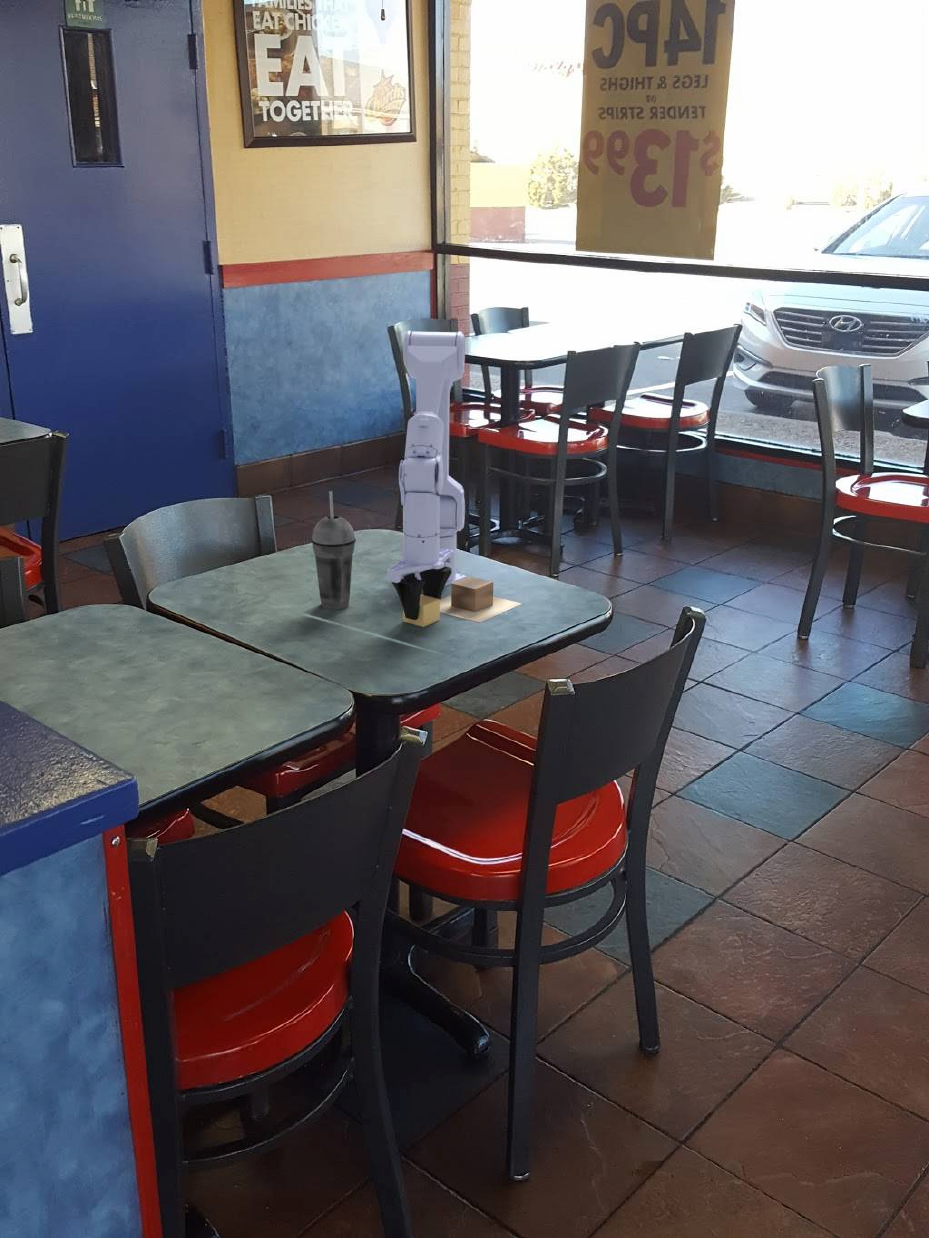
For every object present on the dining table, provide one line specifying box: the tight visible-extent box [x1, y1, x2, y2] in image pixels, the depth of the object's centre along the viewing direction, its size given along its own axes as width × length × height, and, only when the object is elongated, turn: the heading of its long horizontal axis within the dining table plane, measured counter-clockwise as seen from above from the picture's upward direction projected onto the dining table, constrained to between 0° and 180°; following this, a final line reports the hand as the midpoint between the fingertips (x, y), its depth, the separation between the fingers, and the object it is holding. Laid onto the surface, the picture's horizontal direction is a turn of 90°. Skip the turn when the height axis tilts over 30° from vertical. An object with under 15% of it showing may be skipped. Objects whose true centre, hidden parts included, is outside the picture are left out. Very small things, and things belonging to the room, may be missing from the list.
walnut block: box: [450, 575, 494, 612], centre depth 200 cm, size 5×5×4 cm
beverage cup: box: [311, 490, 357, 610], centre depth 197 cm, size 7×7×20 cm
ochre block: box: [402, 594, 441, 628], centre depth 193 cm, size 4×4×4 cm
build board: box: [440, 594, 522, 624], centre depth 201 cm, size 12×12×1 cm
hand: (421, 614), depth 193 cm, fingers open, 4 cm apart
